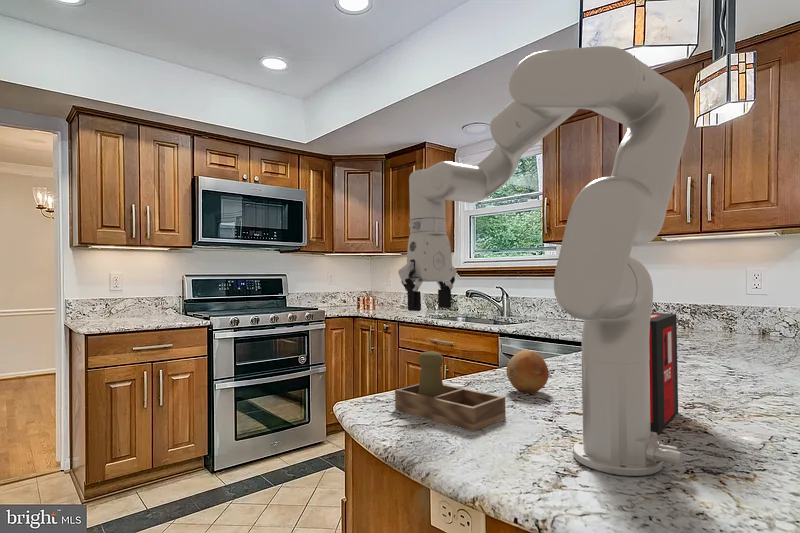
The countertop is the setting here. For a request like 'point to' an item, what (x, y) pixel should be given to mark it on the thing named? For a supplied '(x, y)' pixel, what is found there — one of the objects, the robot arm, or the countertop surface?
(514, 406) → the countertop surface
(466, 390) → the wooden divided tray
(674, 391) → the cleaning product box
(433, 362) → the cork
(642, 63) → the robot arm
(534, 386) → the onion
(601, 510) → the countertop surface
